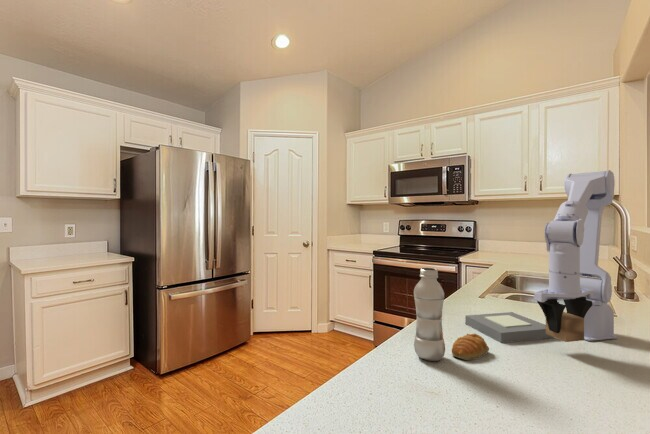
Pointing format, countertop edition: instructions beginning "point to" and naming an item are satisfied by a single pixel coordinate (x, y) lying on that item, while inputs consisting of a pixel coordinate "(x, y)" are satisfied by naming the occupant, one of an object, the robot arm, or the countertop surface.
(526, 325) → the slate board
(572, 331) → the walnut cube
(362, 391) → the countertop surface
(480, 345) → the pastry
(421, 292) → the plastic bottle
